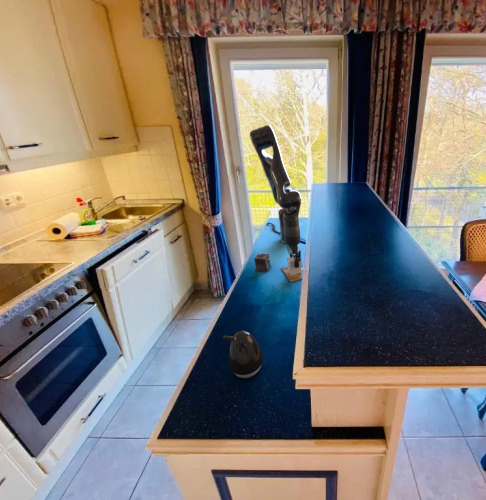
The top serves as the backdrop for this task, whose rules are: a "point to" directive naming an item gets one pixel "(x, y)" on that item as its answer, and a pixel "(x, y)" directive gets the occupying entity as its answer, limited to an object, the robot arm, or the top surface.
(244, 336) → the pump dispenser
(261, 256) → the box
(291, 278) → the wooden board
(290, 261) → the white and blue block
